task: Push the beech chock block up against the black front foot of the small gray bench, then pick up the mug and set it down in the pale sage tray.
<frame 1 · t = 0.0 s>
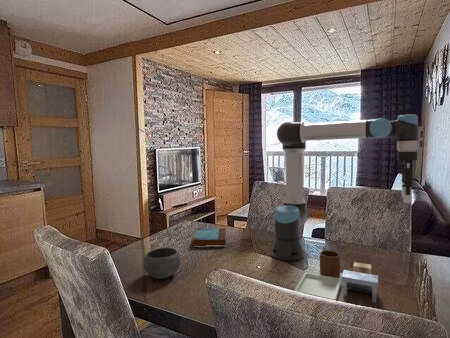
hand: (406, 199, 123), 28 cm above the table, fingers open, 13 cm apart
book: (210, 242, 163), on the table
bowl: (163, 276, 119), on the table
gray bench: (359, 295, 99), on the table
tray: (318, 289, 103), on the table
mug: (328, 274, 116), on the table
chock: (362, 280, 110), on the table
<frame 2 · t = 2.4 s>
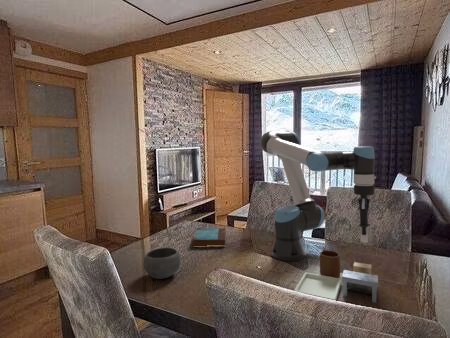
hand: (364, 241, 116), 13 cm above the table, fingers closed
nothing on the table moved.
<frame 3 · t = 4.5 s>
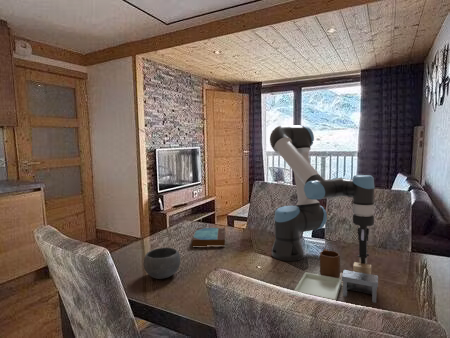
hand: (363, 272, 113), 1 cm above the table, fingers closed
chock: (362, 280, 110), on the table, touching gripper
everything else where it was.
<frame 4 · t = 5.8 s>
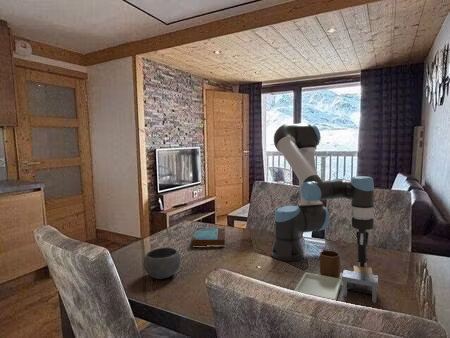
hand: (362, 277, 109), 1 cm above the table, fingers closed
chock: (362, 283, 106), point 1 cm above the table, tilted 17°, touching gripper, gray bench
everything else where it was.
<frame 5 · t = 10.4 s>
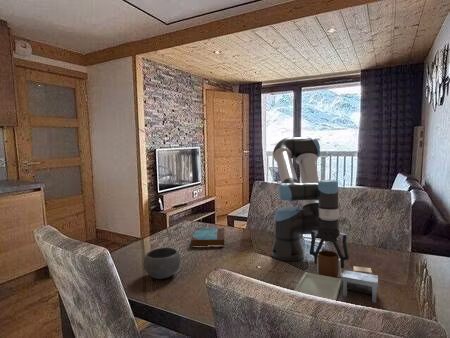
hand: (329, 273, 116), 0 cm above the table, fingers closed on mug, 8 cm apart
mug: (326, 274, 116), on the table, touching gripper
chock: (362, 284, 106), on the table
everything else where it was.
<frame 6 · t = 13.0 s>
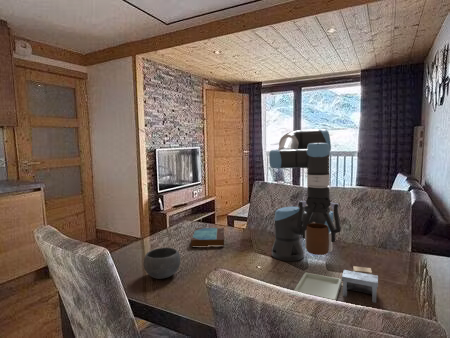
hand: (318, 248, 102), 15 cm above the table, fingers closed on mug, 8 cm apart
mug: (316, 250, 103), point 15 cm above the table, touching gripper
everything else where it was.
when the fingers open (3 cm above the table, at t = 15.6 s): mug drops 2 cm, resting on tray.
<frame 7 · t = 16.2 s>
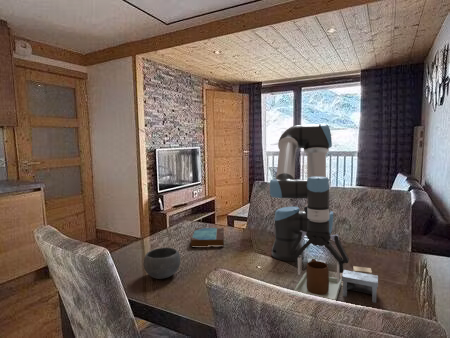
hand: (318, 277, 103), 5 cm above the table, fingers open, 13 cm apart
mug: (316, 288, 104), resting on tray
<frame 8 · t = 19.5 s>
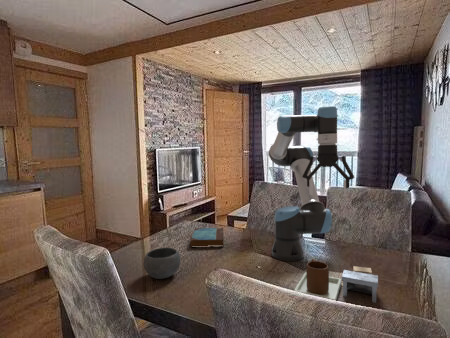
hand: (327, 195, 119), 32 cm above the table, fingers open, 13 cm apart
at the end: chock inside the target area (1.4 cm from its centre), on the table; mug inside the target area on the tray (0.8 cm from its centre), point 0.4 cm above the tray's base; mug tilted 0° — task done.
